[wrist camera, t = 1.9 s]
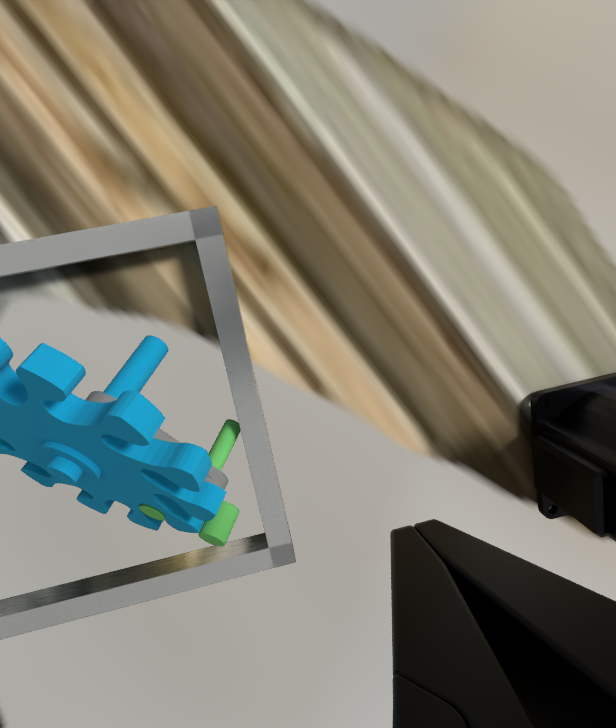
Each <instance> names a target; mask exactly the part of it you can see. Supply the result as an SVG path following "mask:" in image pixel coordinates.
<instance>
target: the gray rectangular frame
mask: <svg viewBox="0 0 616 728" xmlns="http://www.w3.org/2000/svg"><path fill="white" fill-rule="evenodd" d="M195 241H196V245H197V249H198V253H199V257H200V261H201V265H202V270H203V274H204V278H205V282H206V286H207V291H208V295H209V299H210V303H211V307H212V312H213V316H214V320H215V324H216V328H217V333H218V337H219V341H220V345H221V349H222V354H223V358H224V361H225V366H226V370H227V374H228V379H229V383H230V387H231V391H232V396H233V399H234V404H235V408H236V412H237V416H238V420H239V425H240V429H241V433H242V437H243V441H244V446H245V450H246V454H247V458H248V462H249V466H250V471H251V475H252V479H253V484H254V488H255V492H256V496H257V500H258V504H259V509H260V513H261V517H262V521H263V525H264V530H265V533H263V534H259V535H254V536H250V537H247V538H243V539H239V540H235V541H231V542H227V543H226V544H225V546H223V547H220V546H216V545H215V546H211V547H207V548H204V549H199V550H196V551H191V552H187V553H184V554H180V555H176V556H172V557H168V558H164V559H160V560H156V561H152V562H148V563H144V564H140V565H137V566H132V567H129V568H125V569H121V570H117V571H113V572H109V573H105V574H101V575H97V576H93V577H89V578H85V579H81V580H77V581H74V582H69V583H66V584H62V585H58V586H54V587H50V588H46V589H42V590H38V591H34V592H30V593H26V594H22V595H18V596H14V597H10V598H6V599H3V600H0V640H1V639H4V638H8V637H12V636H16V635H19V634H23V633H27V632H31V631H35V630H39V629H42V628H46V627H50V626H54V625H57V624H62V623H65V622H69V621H73V620H77V619H80V618H84V617H88V616H92V615H96V614H100V613H103V612H107V611H111V610H115V609H118V608H123V607H126V606H130V605H134V604H138V603H142V602H145V601H149V600H153V599H157V598H160V597H164V596H168V595H172V594H176V593H179V592H184V591H187V590H191V589H195V588H199V587H202V586H206V585H210V584H214V583H218V582H221V581H225V580H229V579H233V578H237V577H241V576H245V575H248V574H252V573H256V572H260V571H264V570H267V569H271V568H275V567H279V566H282V565H286V564H290V563H294V562H296V559H295V554H294V549H293V544H292V539H291V535H290V530H289V526H288V522H287V517H286V513H285V508H284V504H283V499H282V495H281V490H280V486H279V482H278V477H277V473H276V468H275V463H274V459H273V454H272V450H271V445H270V441H269V437H268V432H267V428H266V423H265V419H264V414H263V410H262V405H261V401H260V396H259V392H258V387H257V383H256V379H255V374H254V369H253V365H252V360H251V356H250V351H249V347H248V343H247V338H246V334H245V329H244V325H243V320H242V316H241V311H240V307H239V302H238V298H237V293H236V289H235V284H234V280H233V275H232V271H231V266H230V262H229V258H228V253H227V249H226V244H225V240H224V235H223V231H222V226H221V222H220V217H219V213H218V209H217V206H213V207H207V208H202V209H196V210H191V211H185V212H180V213H174V214H169V215H163V216H158V217H152V218H146V219H141V220H135V221H130V222H124V223H119V224H113V225H108V226H102V227H96V228H91V229H85V230H80V231H74V232H69V233H63V234H58V235H52V236H47V237H41V238H35V239H30V240H24V241H19V242H13V243H8V244H2V245H0V278H3V277H8V276H13V275H19V274H24V273H29V272H35V271H40V270H45V269H51V268H56V267H61V266H67V265H72V264H77V263H83V262H88V261H93V260H99V259H104V258H109V257H115V256H120V255H125V254H131V253H136V252H141V251H147V250H152V249H158V248H163V247H168V246H174V245H179V244H184V243H190V242H195Z"/></svg>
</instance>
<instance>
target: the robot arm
mask: <svg viewBox="0 0 616 728" xmlns="http://www.w3.org/2000/svg"><path fill="white" fill-rule="evenodd" d="M543 399H546V401H545V403H544V405H542V406H541V402H542V400H543ZM531 415H532V428H533V440H532V455H533V469H534V482H535V488H536V489H537V497H538V509H539V511H540V512H541V513H542V514H543V515H544V516H545V517H546V518H549V519H554V518H558V517H562V516H566V515H569V514H570V515H571V516H572V517H574V518H575V519H576V520H578V521H579V522H580V523H582V524H583V525H584V526H585V527H587V528H588V529H589V530H591V531H592V532H593V533H595V534H596V535H598V536H600V537H605V536H609V537H610V538H612V539H613V540H614V541H616V373H612V374H608V375H604V376H599V377H595V378H591V379H587V380H582V381H578V382H574V383H570V384H566V385H561V386H557V387H553V388H549V389H544V390H540V391H538V392H536V393H535V394H534V395H533V396H532V398H531ZM550 506H552V507H551V509H549V507H550ZM548 509H549V510H548ZM391 585H392V586H391V589H392V646H393V728H616V601H613V600H612V599H609V598H607V597H605V596H603V595H600V594H598V593H596V592H594V591H592V590H590V589H587V588H585V587H583V586H581V585H578V584H576V583H574V582H572V581H570V580H567V579H565V578H563V577H561V576H559V575H556V574H554V573H552V572H550V571H548V570H545V569H543V568H541V567H539V566H537V565H534V564H532V563H530V562H528V561H526V560H524V559H522V558H519V557H517V556H515V555H512V554H511V553H508V552H506V551H504V550H502V549H500V548H497V547H495V546H493V545H491V544H489V543H486V542H484V541H482V540H480V539H478V538H475V537H473V536H471V535H469V534H467V533H464V532H462V531H460V530H458V529H456V528H453V527H451V526H449V525H447V524H445V523H442V522H440V521H438V520H435V519H433V520H428V521H425V522H421V523H417V524H415V525H414V527H413V526H406V527H402V528H398V529H394V530H392V531H391Z"/></svg>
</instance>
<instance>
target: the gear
mask: <svg viewBox="0 0 616 728" xmlns="http://www.w3.org/2000/svg"><path fill="white" fill-rule="evenodd" d="M167 352H168V347H167V345H166V344H165V343H164V342H163V341H162V340H161V339H159V338H157V337H154V336H146V337H145V338H144V340H143V341H142V342H141V343H140V345H139V346H138V348H137V349H136V350H135V351H134V353H133V354H132V355H131V357H130V358H129V359H128V360H127V362H126V363H125V364H124V366H123V367H122V368H121V370H120V371H119V372H118V374H117V375H116V376H115V377H114V379H113V380H112V381H111V383H110V384H109V385H108V387H107V388H106V389H105V391H104V392H99V391H95V392H92V393H91V394H90V395H89V396H88V397H87V399H86V400H83V399H81V398H78V397H77V396H75V395H74V394H72V393H71V392H72V391H73V389H74V388H75V387H76V386H77V385H78V383H79V382H80V381H81V380H82V378H83V377H84V376H85V374H86V373H85V369H84V367H83V366H82V365H81V364H79V363H78V362H77V361H75V360H74V359H72V358H70V357H69V356H67V355H66V354H64V353H62V352H60V351H58V350H56V349H54V348H52V347H50V346H48V345H46V344H44V343H42V344H40V345H39V346H38V347H37V348H36V349H35V350H34V351H33V352H32V353H31V354H30V355H29V356H28V357H27V358H26V359H25V360H24V361H23V362H22V364H21V365H20V366H19V367H18V368H17V369H16V372H14V371H13V369H12V368H11V367H10V365H9V361H10V360H11V358H12V357H13V353H12V350H11V349H10V347H9V346H8V345H7V344H6V343H5V342H4V341H3V340H2V339H1V338H0V454H8V455H12V456H15V457H18V458H21V459H23V460H26V461H28V462H27V463H26V464H25V465H24V467H23V468H22V469H21V471H22V472H24V473H25V474H26V475H28V476H29V477H31V478H32V479H34V480H35V481H37V482H39V483H40V484H42V485H44V486H47V487H52V486H53V485H54V484H55V483H63V484H68V485H73V486H76V487H79V488H81V489H82V491H81V492H80V494H79V495H78V497H77V500H78V501H79V502H81V503H82V504H84V505H86V506H88V507H90V508H92V509H94V510H96V511H98V512H100V513H103V514H106V513H107V512H108V510H109V508H110V507H111V505H112V504H113V502H114V501H118V502H120V503H122V504H124V505H126V506H128V507H129V508H130V509H131V510H130V512H129V514H128V515H127V517H128V518H129V519H130V520H131V521H132V522H134V523H136V524H139V525H142V526H144V527H147V528H150V529H153V530H158V529H159V527H160V525H161V523H162V521H163V520H166V522H167V523H168V524H169V525H171V526H172V527H173V528H175V529H177V530H179V531H184V532H190V533H199V537H200V538H202V539H203V540H204V541H206V542H208V543H210V544H213V545H216V546H220V547H223V546H225V544H226V542H227V539H228V537H229V535H230V532H231V530H232V528H233V525H234V523H235V521H236V519H237V516H238V514H239V509H238V508H237V507H235V506H234V505H232V504H230V503H228V502H226V501H223V499H224V497H225V494H226V492H225V491H224V490H225V487H226V485H227V483H228V479H227V477H226V475H225V474H224V473H222V472H221V469H222V467H223V465H224V463H225V461H226V459H227V457H228V455H229V453H230V451H231V449H232V447H233V445H234V443H235V441H236V439H237V437H238V434H239V433H240V431H241V429H240V425H239V423H238V422H236V421H234V420H226V422H225V423H224V426H223V427H222V429H221V431H220V433H219V435H218V437H217V439H216V441H215V443H214V445H213V446H212V448H211V450H210V452H209V454H208V453H207V451H206V450H205V449H203V448H201V447H199V446H197V445H194V444H190V443H180V442H179V441H177V440H175V439H174V438H173V437H171V436H170V435H168V434H167V433H166V432H164V431H163V430H161V429H160V428H159V427H160V426H161V424H162V423H163V421H164V419H165V417H164V416H163V415H162V413H161V412H160V411H159V410H158V409H157V408H156V407H155V406H154V405H153V404H152V403H151V402H150V401H148V400H147V399H146V398H145V397H144V396H142V395H141V394H140V393H139V392H140V391H141V389H142V388H143V386H144V385H145V384H146V382H147V381H148V379H149V378H150V376H151V375H152V374H153V372H154V371H155V369H156V368H157V366H158V365H159V364H160V362H161V361H162V359H163V358H164V356H165V355H166V354H167ZM204 521H205V522H204ZM203 523H204V524H203ZM202 525H203V526H202ZM201 527H202V528H201ZM200 529H201V530H200ZM199 531H200V532H199Z"/></svg>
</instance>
